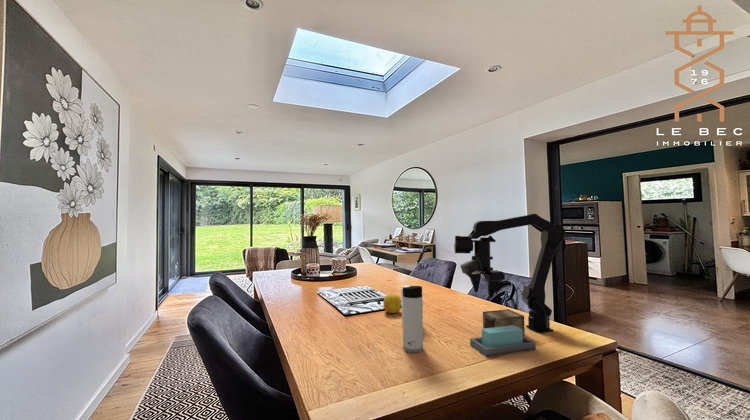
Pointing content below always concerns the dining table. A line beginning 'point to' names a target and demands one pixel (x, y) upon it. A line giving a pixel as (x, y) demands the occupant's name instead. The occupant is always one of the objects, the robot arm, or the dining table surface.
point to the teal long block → (501, 336)
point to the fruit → (392, 303)
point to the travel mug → (412, 319)
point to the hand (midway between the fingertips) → (483, 294)
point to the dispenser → (503, 319)
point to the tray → (502, 347)
